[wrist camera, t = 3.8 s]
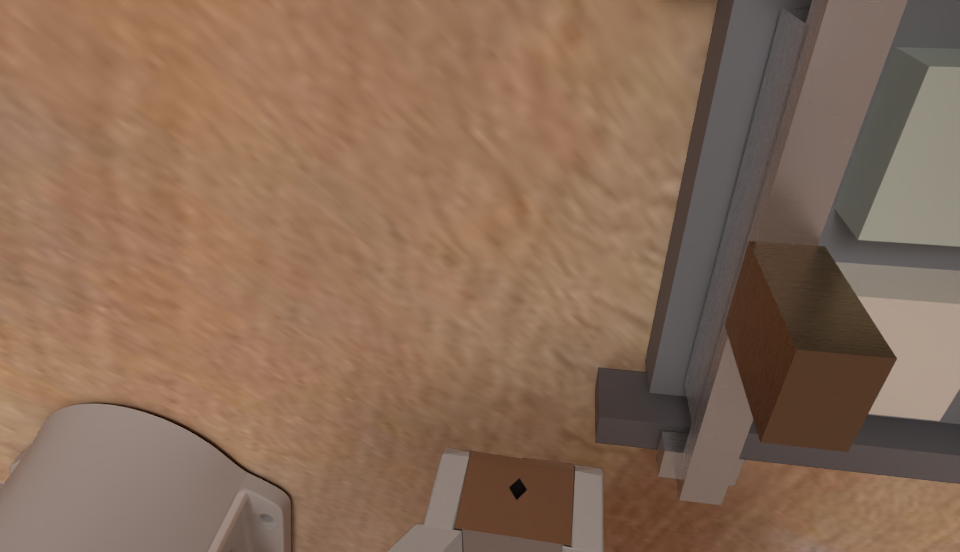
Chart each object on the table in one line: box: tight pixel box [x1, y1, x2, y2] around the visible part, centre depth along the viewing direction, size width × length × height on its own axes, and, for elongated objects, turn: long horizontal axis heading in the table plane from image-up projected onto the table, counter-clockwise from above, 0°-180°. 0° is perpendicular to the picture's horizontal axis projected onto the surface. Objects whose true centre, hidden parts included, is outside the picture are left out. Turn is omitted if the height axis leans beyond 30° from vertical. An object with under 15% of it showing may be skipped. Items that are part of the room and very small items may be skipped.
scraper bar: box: [656, 0, 908, 505], centre depth 16 cm, size 21×3×8 cm, turn 0°
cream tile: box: [835, 262, 960, 421], centre depth 20 cm, size 5×5×2 cm
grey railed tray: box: [595, 0, 960, 484], centre depth 20 cm, size 21×17×3 cm
